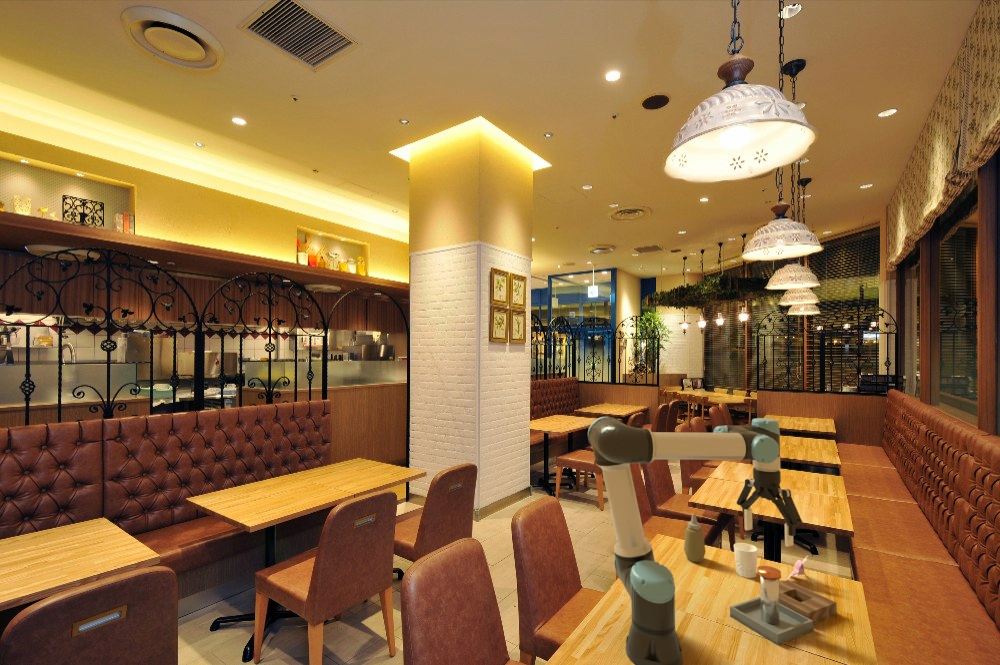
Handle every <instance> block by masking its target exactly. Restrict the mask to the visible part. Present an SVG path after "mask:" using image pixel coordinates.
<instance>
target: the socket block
mask: <svg viewBox="0 0 1000 665" xmlns="http://www.w3.org/2000/svg"><path fill="white" fill-rule="evenodd" d="M779 603H780V604H782V605H784V606H786V607H787V608H789V609H791V610H793V611H795V612H797V613H799V614H801V615H803V616H805V617H807V618H809V619H810V620H812V621H813V626H814V625H816V624H818V623H822V622H823V621H825V620H829V619H831V618H834V617H836V616H838V611H837V610H838V609H837V607H838V606H837V602H836V601H834V600H832V599H830V598H828V597H826V596H824V595H821V594H819V593H817V592H816V591H815V592H814V591H812V590H810V589H808V588H806V587H804V586H801V585H799V584H797V583H795V582H793V581H791V580H789V579H788V580H787V579H786V580H783V581H781V582H780V581H779Z"/></svg>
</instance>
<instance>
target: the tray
mask: <svg viewBox="0 0 1000 665" xmlns="http://www.w3.org/2000/svg"><path fill="white" fill-rule="evenodd" d="M729 612H730V613H729V617H730V618H732V619H734V620H735V621H737V622H739V623H740V624H742V625H743V626H745V627H747V628H748V629H750V630H752V631H754V632H755V633H757V634H759V635H760V636H762V637H763V638H765V639H766V640H768V641H770V642H772V643H774V644H775V645H776V646H780V645H782V644H785V643H788V642H789V641H792V640H795V639H797V638H799V637H802V636H804V635H807V634H809V633H812V632H814V625H813V621H812V620H810V619H809V618H807V617H805V616H803V615H801V614H799V613H797V612H795V611H793V610H791V609H789V608H787V607H786V606H784V605H782V604H780V603H779V614H780V623H779V624H778V625H771V624H768V623H766V622H764V621H763V620H762V619H761V596H758V597H755V598H751V599H749V600H746V601H744V602H740V603H737V604H734V605H731V606H729Z"/></svg>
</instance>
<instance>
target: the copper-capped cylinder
mask: <svg viewBox="0 0 1000 665" xmlns="http://www.w3.org/2000/svg"><path fill="white" fill-rule="evenodd" d="M756 573H757V574H758V575H759V579H760V580H759V581H760V582H759V584H760V591H759V592H760V597H761V619H762V620H763V621H764V622H766V623H768V624H771V625H778V624H779V623H780V614H779V583H780V581H779V580H780V579H781V578H782V571H781V570H779V569H778V568H776V567H774V566H769V565H759V566H757V569H756Z"/></svg>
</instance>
